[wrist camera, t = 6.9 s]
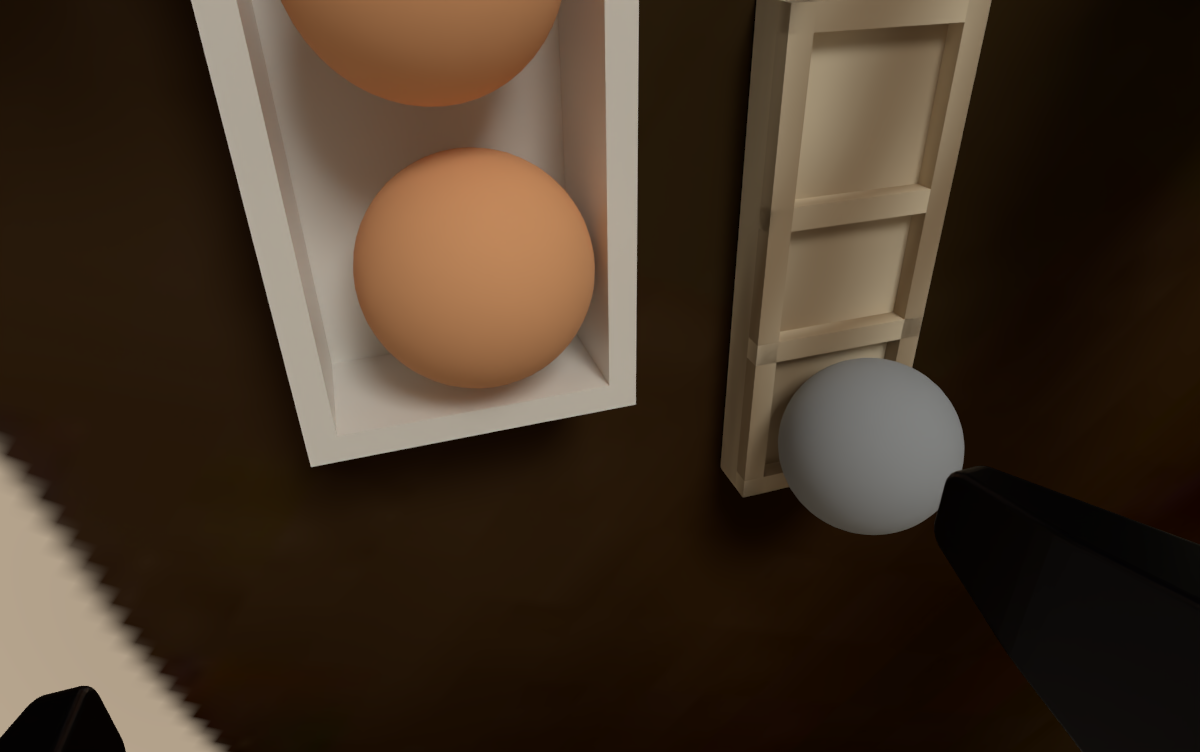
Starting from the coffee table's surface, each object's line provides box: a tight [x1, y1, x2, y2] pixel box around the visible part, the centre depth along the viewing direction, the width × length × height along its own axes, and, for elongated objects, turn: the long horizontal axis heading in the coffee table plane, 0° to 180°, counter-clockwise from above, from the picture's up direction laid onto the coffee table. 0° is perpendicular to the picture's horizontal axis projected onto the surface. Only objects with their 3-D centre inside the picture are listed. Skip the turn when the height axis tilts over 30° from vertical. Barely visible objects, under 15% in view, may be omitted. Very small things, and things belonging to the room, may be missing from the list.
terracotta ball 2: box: [353, 147, 595, 388], centre depth 15 cm, size 5×5×5 cm
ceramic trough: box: [191, 0, 639, 467], centre depth 15 cm, size 7×12×4 cm, turn 1°
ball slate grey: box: [778, 358, 964, 535], centre depth 21 cm, size 5×5×5 cm
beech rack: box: [720, 0, 991, 498], centre depth 21 cm, size 5×13×2 cm, turn 1°
